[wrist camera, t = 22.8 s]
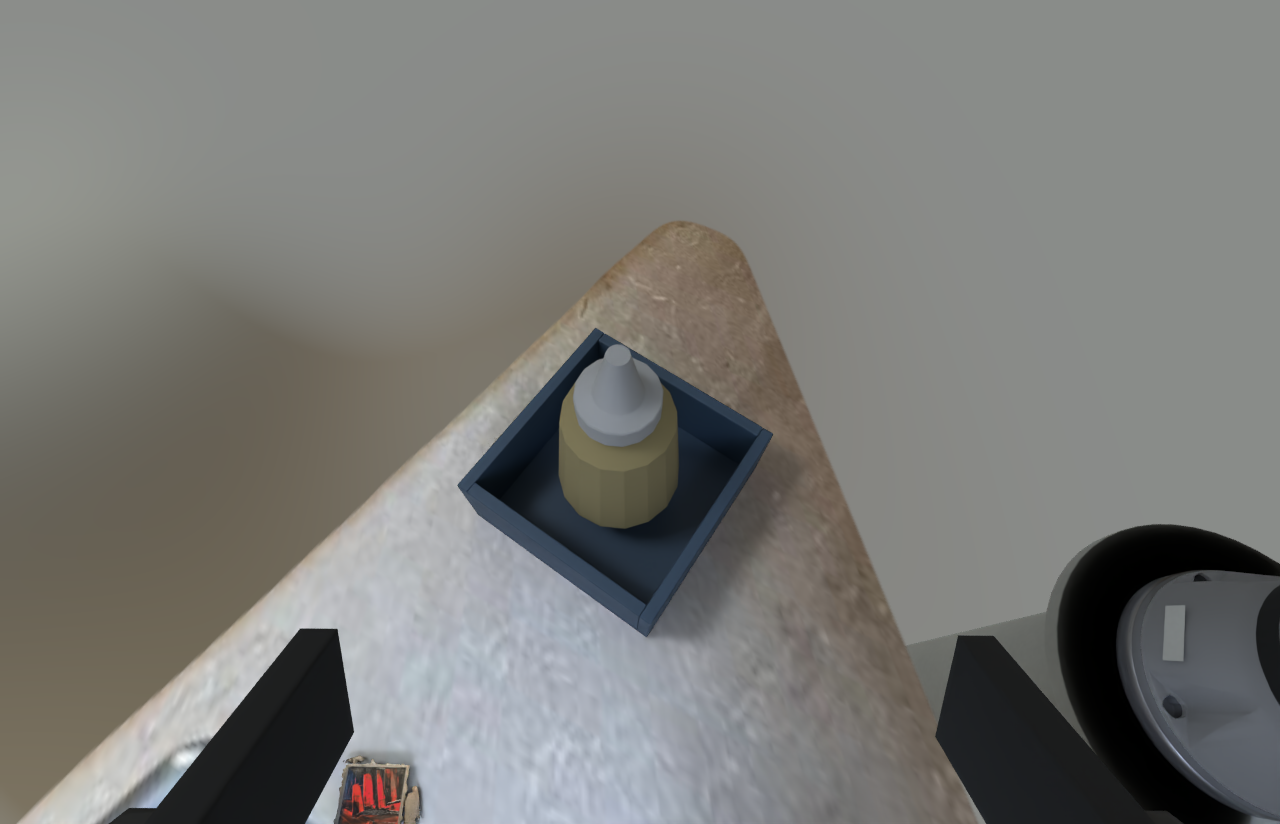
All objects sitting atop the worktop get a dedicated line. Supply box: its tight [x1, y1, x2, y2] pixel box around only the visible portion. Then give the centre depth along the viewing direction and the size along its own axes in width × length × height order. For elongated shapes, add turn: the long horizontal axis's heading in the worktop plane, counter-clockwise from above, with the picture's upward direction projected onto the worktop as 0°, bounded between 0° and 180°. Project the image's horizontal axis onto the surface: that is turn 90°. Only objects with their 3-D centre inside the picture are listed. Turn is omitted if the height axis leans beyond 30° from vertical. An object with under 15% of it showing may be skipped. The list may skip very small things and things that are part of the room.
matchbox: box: [334, 756, 420, 824], centre depth 35 cm, size 5×5×1 cm
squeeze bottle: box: [559, 344, 679, 529], centre depth 35 cm, size 8×8×18 cm
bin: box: [457, 328, 773, 637], centre depth 41 cm, size 15×15×6 cm
